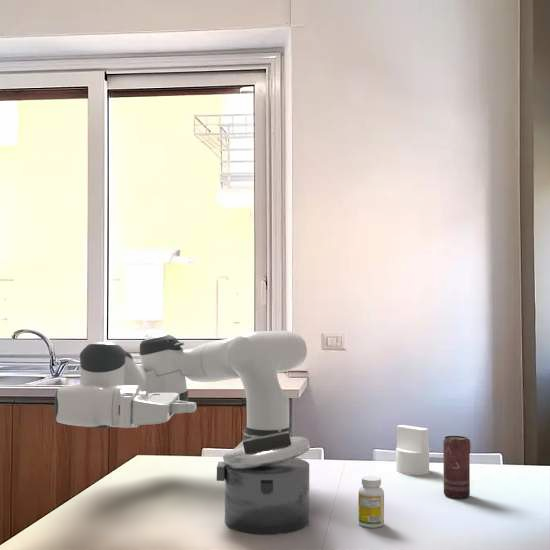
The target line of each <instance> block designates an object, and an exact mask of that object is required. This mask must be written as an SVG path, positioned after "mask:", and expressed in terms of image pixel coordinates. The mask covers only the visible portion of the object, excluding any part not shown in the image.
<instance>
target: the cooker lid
mask: <svg viewBox="0 0 550 550" xmlns="http://www.w3.org/2000/svg"><path fill="white" fill-rule="evenodd" d="M242 441H243V446H241V447H238V448H236V447H235V448H236V449H235V448H233V449H231V450H229V451H228V452H226V453H225V454H223V456H222V457H223V459H222V460H223V462H224V465H225V466H226V467H229V468H253V467H260V466H266V465H271V464H275V463H279V462H283V461H286V460H290V459H292V458H298V457H300V456H302V455H303V454H306V453H307V452H308V451H309V450H310V448H311V445H310V442H309V439H308V438H307V437H304V436H291V437H290V435H289V431H285V432H280V433H275V434H270V435H265V436H259V437H254V438H249V439H244V440H243V439H242Z"/></svg>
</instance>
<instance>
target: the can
mask: <svg viewBox="0 0 550 550" xmlns="http://www.w3.org/2000/svg"><path fill="white" fill-rule="evenodd" d="M442 443H443V445H442V446H443V448H442V450H443V453H442V454H443V455H442V457H443V458H442V459H443V494H444V496H445V497H447V498H449V499H454V500H465V499H468V498H469V496H470V495H471V486H470V485H471V483H470V481H471V478H470V477H471V475H470V474H471V473H470V470H471V469H470V463H471V461H470V457H471V456H470V455H471V448H472V446H471V439H470V438H468V437H466V436H464V435H463V436H462V435H447V436H445V437H444V439H443V441H442Z"/></svg>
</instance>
